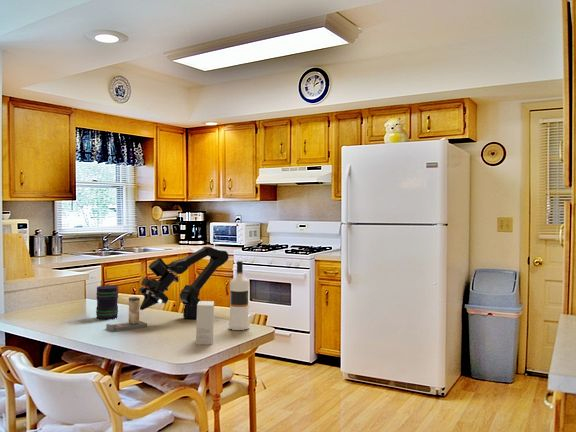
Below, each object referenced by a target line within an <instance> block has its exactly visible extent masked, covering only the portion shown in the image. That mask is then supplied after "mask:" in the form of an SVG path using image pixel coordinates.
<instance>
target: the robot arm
mask: <svg viewBox="0 0 576 432" xmlns="http://www.w3.org/2000/svg"><path fill="white" fill-rule="evenodd" d="M207 256H208V257H209V262H208V264H207V265H206V266H205V267H204V269H203V270H202V271H201V272H200V273H199V275H198V276H197V277H196V278H195V279H194V281H193V282H192V283H191V284H185V285H184V287H183V288H182V289H181V290H180V293H179V299H180V301H181V302H182V304H183V306H184V308H183V310H182V311H183V316H182V317H183V319H184V320H197V304H198V302H199V301H201V299H200V298H199V296H200V291H201V290H202V288H203V286H205V284H206V283H207V282H208V280H209V279H210V278H211V276H212V275H213V274H214V273H215V272H216V270H217V269H218V268H219V267H221V266H223V265H224V264H225V263H226V262H228V260H229V253H228V251H226V250H222V249H221V250H219V249H216V248H214V247H211V246H203V247H202V248H200V249H199V250H196V251H195V252H193V253H191V254H190V255H187V256H186V257H184V258H180V259H175V260H173V261H170V263H169V264H166V263H165V261H164V260H163V259H162V258H161V257H158V258H157V259H155V260H153V261H152V262H151V263H150V264H149V265H148V269H149V270H150V271H151V272H152V273H153V274H154V276H156V277H159V278H158V279H156V278H153V277H151V278H147V277H143V278H142V281H141V283H140V285H142V286H141V287H140V288H139V289H138V291H139V292H140V294H142V296H143V297H144V298H143V300H142V302H141V305H140V306H139V310H140V311H143V310H145V309H148V308H150V307H151V306H154V305H156V304H159V303H160V302H159V300H161V303H162V304H165V305H166V304H167V303H168V301H169V297H168V296H167V295H166V294H165V292H168V291H169V287H170V286H171V284H172V283H173V282H176V283H179V276H178V275H182V274H184V273H185V272H186V271H187V270H188V269H189V268H190V266H192V265H194V264H195V263H197V262H199V261H201V260H202V259H204V258H206V257H207ZM175 274H177V275H175Z"/></svg>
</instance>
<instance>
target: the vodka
mask: <svg viewBox="0 0 576 432" xmlns="http://www.w3.org/2000/svg"><path fill="white" fill-rule="evenodd" d="M243 264H244V263H243V261H242V260H237V261H236V276H234V277H233V278H232V279H230V282H229V285H230V286H229V287H230V288H229V290H230V301H229V302H230V305H229V319H228V329H229V330H231V329H232V330H231V331H234V330H243V331H245V330H244V329H247V330H249V329H250V320H249V318H250V317H249V307H250V305H249V289H250V288H249V287H250V281H249V279H247V278H246V277H245V276H243V271H244V270H243V269H244V267H243Z"/></svg>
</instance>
